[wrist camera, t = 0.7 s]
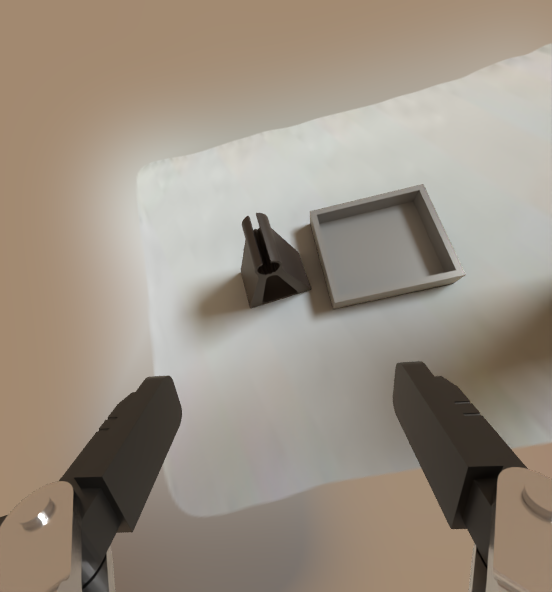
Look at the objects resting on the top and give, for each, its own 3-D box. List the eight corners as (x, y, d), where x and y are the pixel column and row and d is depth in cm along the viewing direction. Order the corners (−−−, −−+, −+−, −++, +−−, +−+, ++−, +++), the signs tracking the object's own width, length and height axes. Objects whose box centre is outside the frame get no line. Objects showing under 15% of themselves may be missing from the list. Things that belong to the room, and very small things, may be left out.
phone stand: (250, 308, 37) (222, 276, 26) (241, 271, 39) (212, 226, 28) (311, 290, 37) (309, 249, 26) (298, 253, 39) (292, 201, 28)
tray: (415, 198, 39) (423, 184, 36) (453, 283, 34) (465, 274, 32) (310, 223, 40) (309, 211, 37) (333, 309, 36) (334, 302, 33)
